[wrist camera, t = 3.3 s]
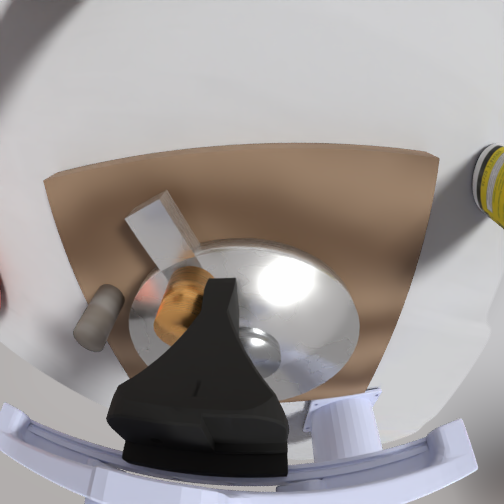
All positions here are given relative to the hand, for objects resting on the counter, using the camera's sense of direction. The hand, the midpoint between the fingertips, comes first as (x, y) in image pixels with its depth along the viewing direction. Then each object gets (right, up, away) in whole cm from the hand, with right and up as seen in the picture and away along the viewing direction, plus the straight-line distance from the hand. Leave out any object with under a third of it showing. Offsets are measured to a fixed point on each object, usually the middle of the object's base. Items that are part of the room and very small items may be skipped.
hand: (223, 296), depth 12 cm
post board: (+1, -2, +7) cm, 7 cm away
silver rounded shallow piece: (0, -2, +4) cm, 5 cm away
